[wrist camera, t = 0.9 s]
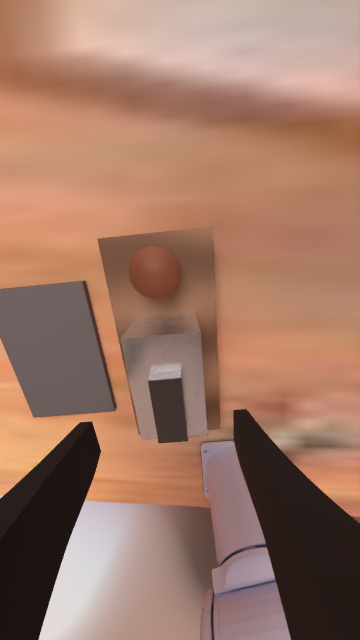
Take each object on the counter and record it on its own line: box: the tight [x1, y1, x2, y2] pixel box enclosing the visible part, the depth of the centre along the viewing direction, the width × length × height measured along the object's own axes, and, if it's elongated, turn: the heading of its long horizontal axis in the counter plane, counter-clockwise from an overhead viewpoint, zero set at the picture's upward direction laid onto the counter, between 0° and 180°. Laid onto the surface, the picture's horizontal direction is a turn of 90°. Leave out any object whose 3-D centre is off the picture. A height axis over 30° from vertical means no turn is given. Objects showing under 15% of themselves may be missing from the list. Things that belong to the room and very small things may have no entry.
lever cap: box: [120, 313, 208, 443], centre depth 14 cm, size 8×5×5 cm, turn 5°
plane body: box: [98, 227, 220, 435], centre depth 16 cm, size 18×8×6 cm, turn 5°
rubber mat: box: [0, 281, 116, 418], centre depth 20 cm, size 14×9×1 cm, turn 5°
